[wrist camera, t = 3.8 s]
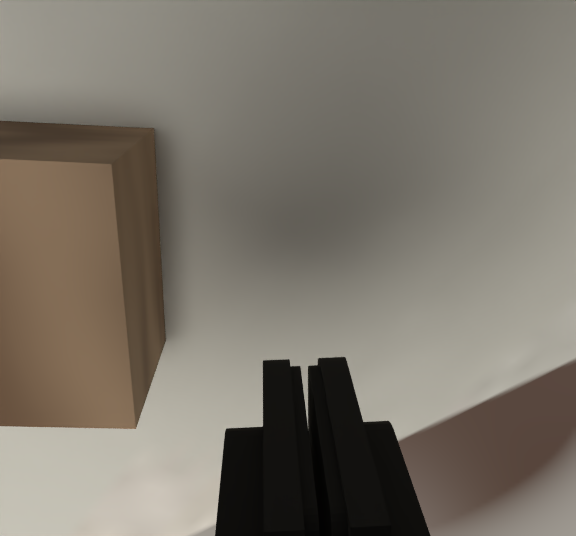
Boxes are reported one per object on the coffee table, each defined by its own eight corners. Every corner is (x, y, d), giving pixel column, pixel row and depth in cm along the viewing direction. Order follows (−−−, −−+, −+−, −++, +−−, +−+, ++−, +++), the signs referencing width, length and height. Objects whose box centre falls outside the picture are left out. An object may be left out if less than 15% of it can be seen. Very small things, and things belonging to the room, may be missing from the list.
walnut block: (155, 127, 16) (111, 164, 12) (166, 337, 20) (135, 428, 15) (-102, 114, 16) (-249, 147, 12) (-46, 331, 19) (-142, 423, 15)
